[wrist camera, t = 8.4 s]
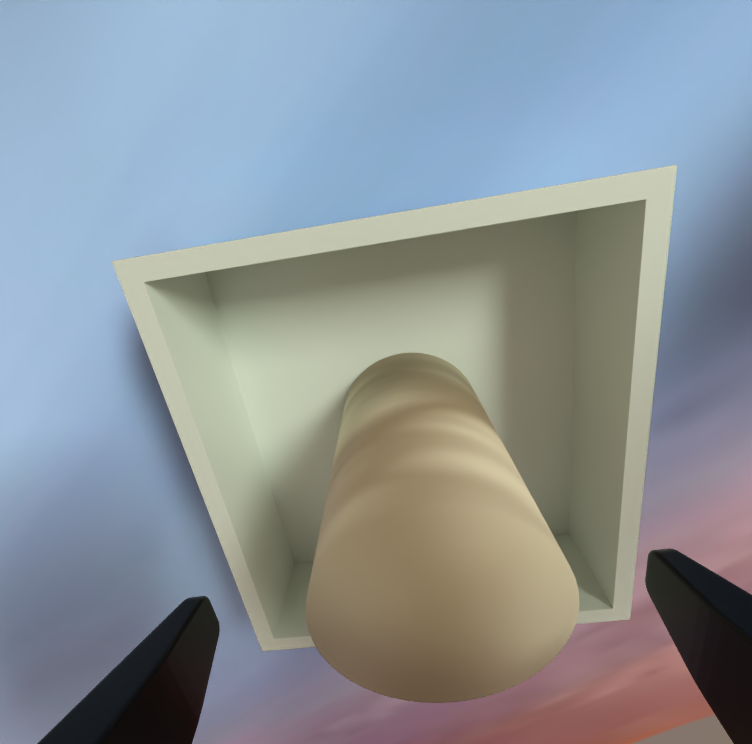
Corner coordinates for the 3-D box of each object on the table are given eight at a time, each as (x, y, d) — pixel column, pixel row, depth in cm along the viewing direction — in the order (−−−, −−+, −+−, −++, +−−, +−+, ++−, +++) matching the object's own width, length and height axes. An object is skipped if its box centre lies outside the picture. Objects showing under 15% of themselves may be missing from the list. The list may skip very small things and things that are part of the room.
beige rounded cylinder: (472, 342, 14) (583, 490, 6) (481, 463, 15) (576, 691, 8) (332, 363, 14) (275, 527, 6) (356, 479, 16) (334, 712, 8)
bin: (588, 181, 12) (677, 164, 9) (577, 533, 17) (629, 619, 14) (188, 250, 13) (111, 260, 10) (287, 563, 18) (262, 651, 15)
